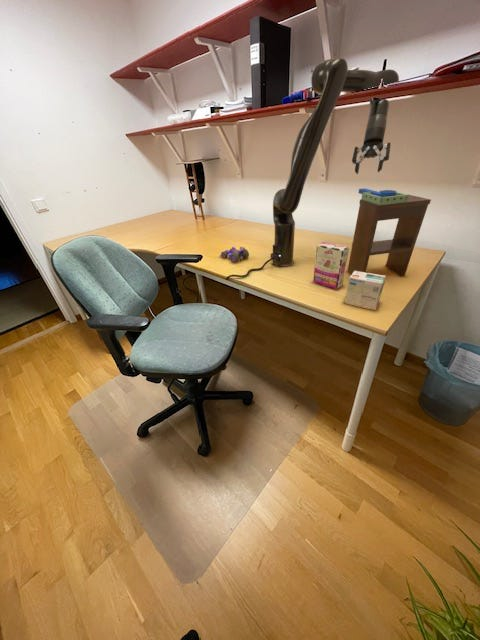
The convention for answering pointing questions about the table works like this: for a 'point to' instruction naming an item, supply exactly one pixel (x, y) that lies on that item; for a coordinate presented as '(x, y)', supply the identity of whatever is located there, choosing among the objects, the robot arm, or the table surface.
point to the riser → (397, 247)
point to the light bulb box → (364, 289)
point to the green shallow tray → (384, 198)
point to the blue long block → (382, 194)
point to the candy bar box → (330, 264)
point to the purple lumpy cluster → (235, 254)
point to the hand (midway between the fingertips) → (367, 172)
